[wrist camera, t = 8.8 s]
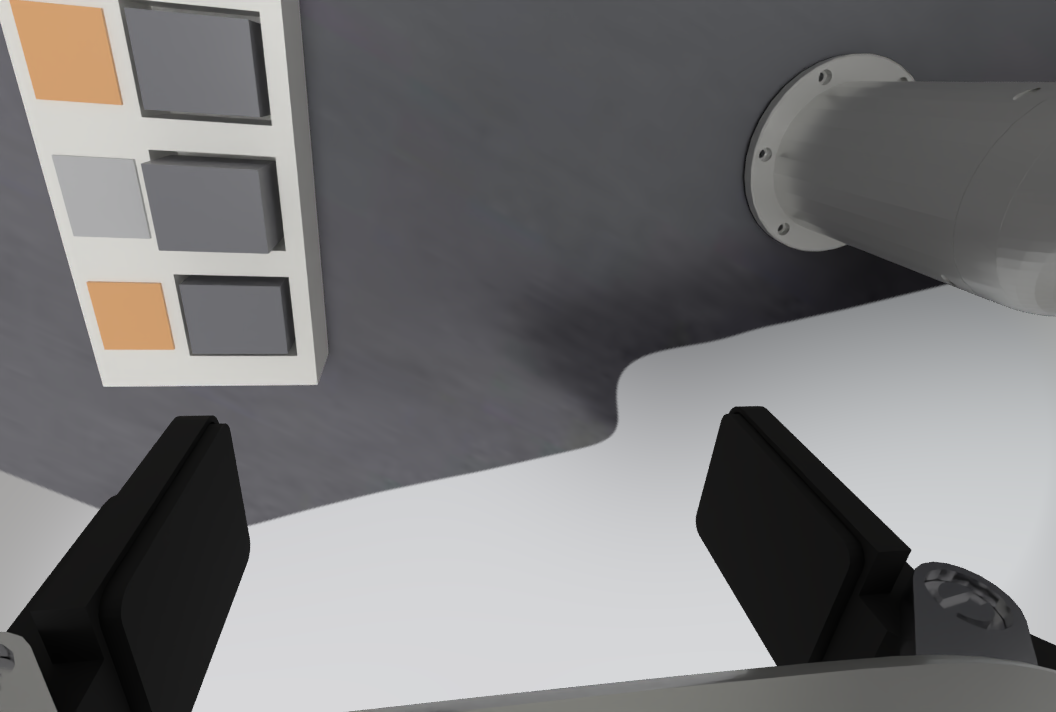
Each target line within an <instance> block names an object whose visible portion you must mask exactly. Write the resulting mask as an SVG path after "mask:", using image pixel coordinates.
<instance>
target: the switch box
mask: <svg viewBox="0 0 1056 712" xmlns="http://www.w3.org/2000/svg"><path fill="white" fill-rule="evenodd" d="M124 7H126V8H136V9H146V10H157V11H167V12H177V13H187V14H197V15H207V16H218V17H228V18H238V19H248V20H251V21H254V22H257V23H260V24H261V31H262V40H263V49H264V58H265V67H266V76H267V85H268V94H269V103H270V112H271V115H269V116H264V117H246V116H231V115H217V114H203V113H188V112H174V111H160V110H145V109H144V106H143V101H142V96H141V91H140V86H139V81H138V76H137V71H136V66H135V61H134V56H133V51H132V46H131V41H130V36H129V31H128V26H127V21H126V16H125V11H124ZM0 22H1V26H2V29H3V33H4V36H5V40H6V43H7V47H8V51H9V54H10V58H11V61H12V65H13V68H14V72H15V75H16V79H17V82H18V86H19V89H20V93H21V97H22V100H23V104H24V107H25V111H26V114H27V118H28V121H29V125H30V128H31V132H32V135H33V139H34V143H35V146H36V150H37V153H38V157H39V160H40V164H41V167H42V171H43V174H44V178H45V181H46V185H47V189H48V192H49V196H50V199H51V203H52V206H53V210H54V213H55V217H56V220H57V224H58V227H59V231H60V234H61V238H62V242H63V245H64V249H65V252H66V256H67V259H68V263H69V266H70V270H71V273H72V277H73V280H74V284H75V288H76V291H77V295H78V298H79V302H80V305H81V309H82V312H83V316H84V319H85V323H86V326H87V330H88V334H89V337H90V341H91V344H92V348H93V351H94V355H95V358H96V362H97V365H98V369H99V372H100V376H101V380H102V383H103V387H116V386H233V385H318V382H319V379H320V377H321V374H322V371H323V368H324V366H325V363H326V360H327V357H328V355H329V350H328V338H327V326H326V315H325V303H324V291H323V279H322V267H321V255H320V243H319V231H318V219H317V207H316V195H315V183H314V172H313V160H312V148H311V136H310V124H309V112H308V100H307V88H306V76H305V64H304V52H303V41H302V29H301V17H300V5H299V0H0ZM169 155H185V156H203V157H220V158H238V159H255V160H272V161H276V169H277V178H278V187H279V196H280V205H281V214H282V223H283V232H284V237H283V238H282V240H281V241H280V242H279V243H278V244H277V245H276V246H275V247H274V248H273V249H272V250H271V252H270V253H269V254H257V253H223V252H190V251H159V249H158V244H157V239H156V234H155V230H154V225H153V220H152V215H151V211H150V206H149V201H148V196H147V191H146V187H145V182H144V177H143V172H142V168H141V163H145V162H148V161H152V160H155V159H158V158H162V157H165V156H169ZM190 275H222V276H265V277H289V284H290V293H291V302H292V311H293V320H294V329H295V338H296V339H295V341H294V343H293V345H292V347H291V349H290V351H289V353H288V354H193V353H192V348H191V343H190V338H189V332H188V327H187V322H186V317H185V312H184V307H183V302H182V297H181V292H180V287H179V284H180V283H181V282H183V281H184V280H185V279H186V278H188V277H189V276H190Z"/></svg>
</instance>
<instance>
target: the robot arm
mask: <svg viewBox="0 0 1056 712" xmlns="http://www.w3.org/2000/svg"><path fill="white" fill-rule="evenodd" d="M760 152H761V155H760V156H759V154H760ZM744 177H745V191H746V196H747V200H748V204H749V207H750V210H751V212H752V214H753V216H754V218H755V220H756V222H757V223H758V224H759V225H760V227H761V228H762V229H763V230H764V231H765V232H766V233H767V234H768V235H769V236H771V237H772V238H774V239H775V240H776V241H778V242H780V243H782V244H785V245H787V246H789V247H791V248H795V249H799V250H803V251H818V252H820V251H826V250H832V249H836V248H839V247H842V246H845V245H850V246H853V247H855V248H858V249H860V250H863V251H865V252H868V253H870V254H873V255H875V256H878V257H881V258H883V259H886V260H888V261H891V262H893V263H896V264H898V265H901V266H903V267H906V268H909V269H911V270H914V271H916V272H919V273H921V274H924V275H926V276H929V277H931V278H934V279H937V280H939V281H942V282H944V283H947V284H949V285H952V286H954V287H957V288H959V289H962V290H965V291H967V292H970V293H972V294H975V295H977V296H980V297H982V298H985V299H987V300H991V301H993V302H996V303H998V304H1001V305H1004V306H1006V307H1009V308H1012V309H1015V310H1019V311H1022V312H1026V313H1031V314H1037V315H1044V316H1056V82H940V81H915V80H914V78H913V76H912V75H911V74H910V73H909V72H908V71H907V70H906V69H904V68H903V67H902V66H901V65H900V64H898V63H896V62H894V61H893V60H891V59H889V58H887V57H883V56H879V55H875V54H848V55H841V56H835V57H832V58H829V59H827V60H824V61H821V62H818V63H816V64H815V65H813V66H811V67H810V68H808V69H806V70H804V71H803V72H801V73H800V74H799V75H797V76H796V77H795V78H794V79H793V80H791V81H790V82H789V83H788V84H787V85H785V87H784V88H783V89H782V90H781V91H780V92H779V93H778V95H777V96H776V97H775V98H774V99H773V100H772V101H771V103H770V104H769V106H768V108H767V109H766V111H765V112H764V114H763V115H762V117H761V119H760V120H759V123H758V125H757V127H756V129H755V132H754V134H753V136H752V138H751V142H750V146H749V149H748V153H747V157H746V166H745V175H744ZM696 527H697V531H698V533H699V536H700V537H701V539H702V541H703V542H704V544H705V546H706V547H707V549H708V551H709V552H710V554H711V556H712V558H713V559H714V561H715V563H716V564H717V566H718V567H719V569H720V571H721V573H722V574H723V576H724V578H725V579H726V581H727V583H728V584H729V586H730V588H731V589H732V591H733V593H734V595H735V596H736V598H737V600H738V601H739V603H740V605H741V606H742V608H743V610H744V611H745V613H746V615H747V616H748V618H749V620H750V621H751V623H752V625H753V626H754V628H755V630H756V632H757V633H758V635H759V637H760V638H761V640H762V642H763V643H764V645H765V647H766V648H767V650H768V652H769V653H770V655H771V657H772V658H773V660H774V662H775V663H776V665H777V666H775V667H765V668H755V669H745V670H735V671H724V672H715V673H704V674H694V675H686V676H685V675H684V676H674V677H666V678H656V679H646V680H637V681H626V682H617V683H608V684H598V685H588V686H579V687H569V688H560V689H551V690H542V691H532V692H523V693H513V694H504V695H495V696H486V697H476V698H467V699H458V700H450V701H440V702H431V703H422V704H414V705H405V706H396V707H386V708H378V709H369V710H360V711H351V712H1056V645H1054V644H1051V643H1049V642H1047V641H1045V640H1042V639H1040V638H1038V637H1036V636H1033V635H1031V634H1030V633H1029V629H1028V625H1027V621H1026V619H1025V617H1024V615H1023V613H1022V611H1021V609H1020V608H1019V607H1018V606H1017V605H1016V603H1015V602H1014V601H1013V600H1012V599H1011V598H1010V597H1009V596H1008V595H1007V594H1005V593H1004V592H1003V591H1002V590H1001V589H999V588H998V587H997V586H996V585H994V584H993V583H991V582H989V581H988V580H986V579H984V578H983V577H981V576H979V575H977V574H975V573H973V572H971V571H968V570H966V569H964V568H960V567H958V566H954V565H951V564H947V563H939V562H929V563H923V564H921V565H920V566H918V567H917V568H915V570H914V569H913V568H912V567H911V566H910V565H909V564H908V563H907V562H906V560H907V558H908V556H909V554H910V552H911V549H910V548H909V547H908V546H907V545H906V544H905V543H904V542H903V541H902V540H901V539H900V538H899V537H898V536H897V535H896V534H894V532H893V531H892V530H890V529H889V528H888V527H887V526H886V525H885V524H884V523H883V522H882V521H881V520H880V519H879V518H878V517H877V516H876V515H875V514H874V513H873V512H872V511H871V510H870V509H869V508H868V507H867V506H866V505H865V504H864V503H863V502H862V501H861V500H860V499H859V498H858V497H856V496H855V494H854V493H852V492H851V491H850V490H849V489H848V488H847V487H846V486H845V485H844V484H843V483H842V482H841V481H840V480H839V479H838V478H837V477H836V476H835V475H834V474H833V473H832V472H831V471H830V470H829V469H828V468H827V467H826V466H825V465H824V464H823V463H822V462H821V461H819V459H818V458H817V457H815V456H814V455H813V454H812V453H811V452H810V451H809V450H808V449H807V448H806V447H805V446H804V445H803V444H802V443H801V442H800V441H799V440H798V439H797V438H796V437H795V436H794V435H793V434H792V433H791V432H790V431H789V430H788V429H787V428H786V427H784V426H783V424H782V423H781V422H779V420H778V419H776V418H775V417H774V416H773V415H772V414H771V413H770V412H769V411H768V410H767V409H766V408H764V407H761V406H748V407H747V406H746V407H734V408H732V409H731V411H730V412H729V414H726V415H724V416H723V418H722V420H721V424H720V428H719V431H718V435H717V439H716V443H715V446H714V450H713V454H712V458H711V462H710V466H709V469H708V473H707V477H706V481H705V484H704V489H703V492H702V496H701V500H700V503H699V507H698V511H697V515H696ZM249 553H250V538H249V533H248V527H247V521H246V515H245V510H244V504H243V499H242V493H241V488H240V482H239V476H238V471H237V465H236V460H235V454H234V449H233V443H232V438H231V432H230V428H229V426H228V425H227V424H219V422H218V420H217V418H216V417H215V416H178V417H176V418H175V419H174V420H173V421H172V422H171V423H170V425H169V426H168V427H167V429H166V430H165V431H164V433H163V434H162V435H161V437H160V438H159V439H158V441H157V442H156V443H155V445H154V446H153V447H152V449H151V450H150V451H149V453H148V454H147V455H146V457H145V458H144V459H143V461H142V462H141V463H140V465H139V466H138V467H137V469H136V470H135V471H134V473H133V474H132V475H131V477H130V478H129V479H128V481H127V482H126V483H125V485H124V486H123V487H122V489H121V490H120V491H119V493H118V494H117V495H115V496H113V497H111V498H110V499H109V500H108V501H107V502H106V503H105V504H104V505H103V506H102V507H101V509H100V510H99V511H98V513H97V514H96V515H95V516H94V518H93V519H92V521H91V522H90V523H89V524H88V526H87V527H86V528H85V529H84V531H83V532H82V533H81V535H80V536H79V537H78V539H77V540H76V541H75V543H74V544H73V545H72V546H71V548H70V549H69V550H68V552H67V553H66V554H65V556H64V557H63V558H62V560H61V561H60V562H59V563H58V565H57V566H56V567H55V569H54V570H53V571H52V573H51V574H50V575H49V577H48V578H47V579H46V581H45V582H44V583H43V584H42V586H41V587H40V588H39V590H38V591H37V592H36V594H35V595H34V596H33V598H32V599H31V600H30V602H29V603H28V604H27V605H26V607H25V608H24V609H23V611H22V612H21V613H20V615H19V616H18V617H17V618H16V620H15V621H14V623H13V624H12V625H11V626H10V628H9V629H8V630H7V632H0V712H191V711H192V709H193V705H194V703H195V701H196V698H197V695H198V693H199V690H200V687H201V685H202V682H203V679H204V677H205V674H206V671H207V669H208V666H209V663H210V661H211V658H212V655H213V653H214V650H215V647H216V645H217V642H218V639H219V637H220V634H221V631H222V629H223V626H224V623H225V621H226V618H227V615H228V613H229V610H230V607H231V605H232V602H233V599H234V597H235V594H236V591H237V589H238V586H239V583H240V581H241V578H242V575H243V572H244V570H245V567H246V565H247V562H248V559H249Z"/></svg>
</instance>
